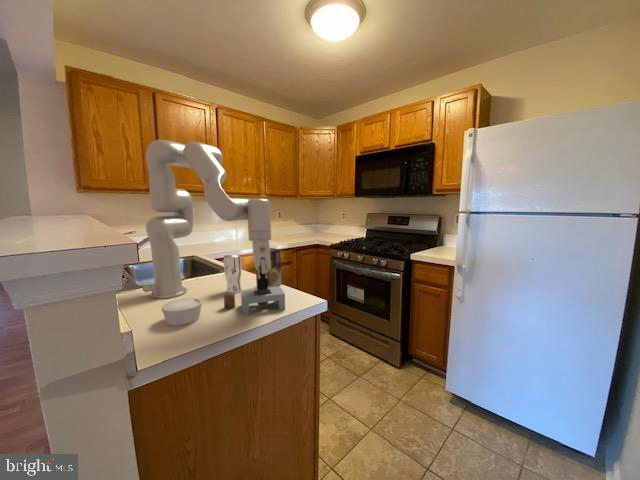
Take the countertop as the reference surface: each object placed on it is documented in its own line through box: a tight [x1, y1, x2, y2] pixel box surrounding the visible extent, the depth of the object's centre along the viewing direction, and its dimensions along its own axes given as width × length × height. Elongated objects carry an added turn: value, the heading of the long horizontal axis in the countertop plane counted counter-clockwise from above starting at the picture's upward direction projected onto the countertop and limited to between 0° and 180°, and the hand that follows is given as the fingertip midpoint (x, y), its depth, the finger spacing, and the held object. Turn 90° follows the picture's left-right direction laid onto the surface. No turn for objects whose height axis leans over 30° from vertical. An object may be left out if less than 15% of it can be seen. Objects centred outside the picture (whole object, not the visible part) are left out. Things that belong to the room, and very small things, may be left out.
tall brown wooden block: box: [255, 262, 269, 306], centre depth 93 cm, size 4×4×15 cm
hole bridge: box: [240, 285, 286, 316], centre depth 94 cm, size 14×9×6 cm, turn 109°
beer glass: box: [223, 253, 243, 294], centre depth 111 cm, size 7×7×15 cm
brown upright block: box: [223, 292, 236, 310], centre depth 94 cm, size 4×4×5 cm
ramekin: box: [161, 297, 203, 327], centre depth 85 cm, size 11×11×5 cm
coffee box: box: [267, 247, 283, 287], centre depth 118 cm, size 9×6×16 cm
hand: (262, 287), depth 93 cm, fingers closed on tall brown wooden block, 3 cm apart
